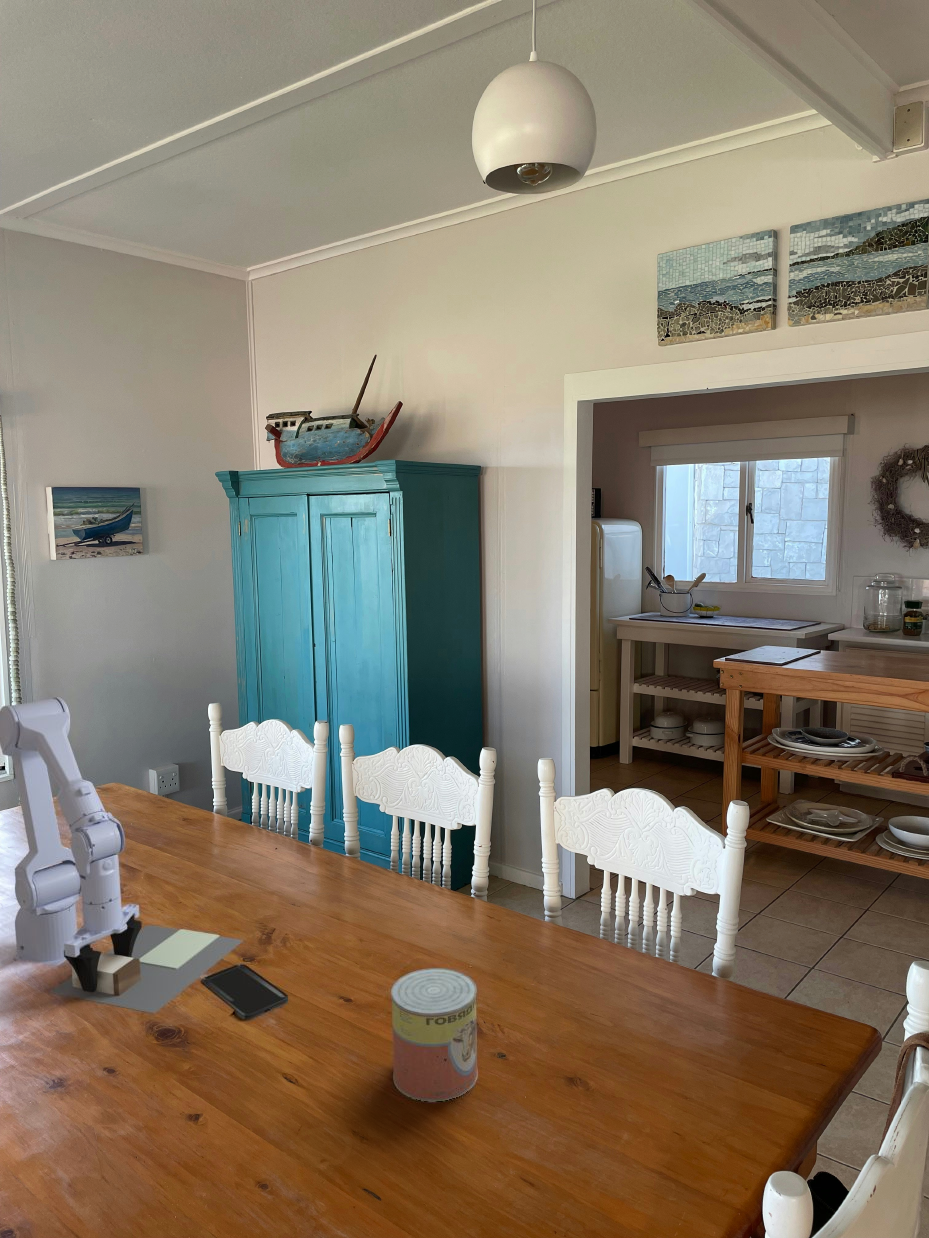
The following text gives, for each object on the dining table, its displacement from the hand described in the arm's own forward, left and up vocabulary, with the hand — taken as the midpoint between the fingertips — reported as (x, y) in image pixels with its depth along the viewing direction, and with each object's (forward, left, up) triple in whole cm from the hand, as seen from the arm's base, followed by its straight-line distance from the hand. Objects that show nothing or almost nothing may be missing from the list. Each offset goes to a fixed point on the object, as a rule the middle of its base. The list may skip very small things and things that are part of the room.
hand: (106, 978), depth 142 cm
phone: (+22, +5, -2) cm, 23 cm away
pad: (+4, +13, -1) cm, 14 cm away
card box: (0, 0, -1) cm, 1 cm away
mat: (+3, +7, -1) cm, 8 cm away
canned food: (+58, -5, -2) cm, 58 cm away
